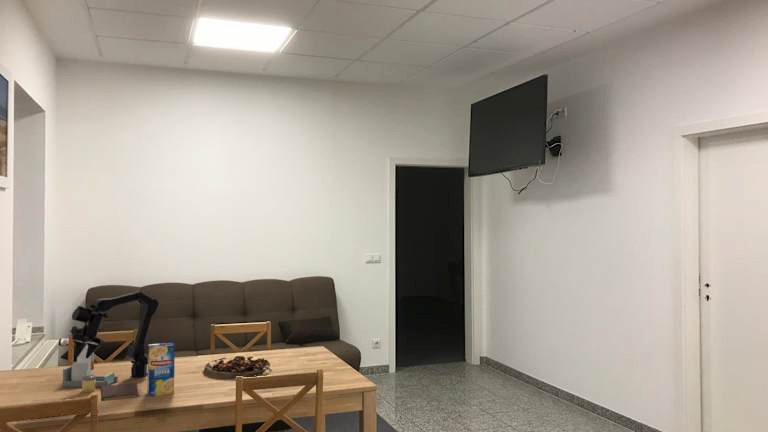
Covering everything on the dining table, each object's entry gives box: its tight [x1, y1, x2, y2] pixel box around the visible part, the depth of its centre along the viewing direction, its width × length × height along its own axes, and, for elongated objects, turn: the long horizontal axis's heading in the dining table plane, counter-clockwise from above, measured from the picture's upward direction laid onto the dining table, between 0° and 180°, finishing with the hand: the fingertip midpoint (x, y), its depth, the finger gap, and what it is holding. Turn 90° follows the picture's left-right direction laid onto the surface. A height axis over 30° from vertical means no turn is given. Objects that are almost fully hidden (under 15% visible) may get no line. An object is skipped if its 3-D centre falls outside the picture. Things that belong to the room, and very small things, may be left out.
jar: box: [81, 374, 97, 393], centre depth 275 cm, size 6×6×6 cm
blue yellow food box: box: [146, 342, 176, 397], centre depth 271 cm, size 7×11×22 cm, turn 117°
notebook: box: [101, 382, 140, 401], centre depth 272 cm, size 15×20×2 cm
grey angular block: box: [71, 362, 88, 381], centre depth 286 cm, size 4×7×10 cm, turn 111°
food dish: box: [201, 355, 271, 380], centre depth 313 cm, size 35×33×8 cm
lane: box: [62, 365, 119, 388], centre depth 286 cm, size 21×10×8 cm, turn 88°
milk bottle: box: [76, 342, 95, 376], centre depth 302 cm, size 8×8×20 cm
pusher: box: [103, 371, 115, 385], centre depth 285 cm, size 1×8×4 cm, turn 178°
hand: (81, 357), depth 279 cm, fingers open, 9 cm apart
